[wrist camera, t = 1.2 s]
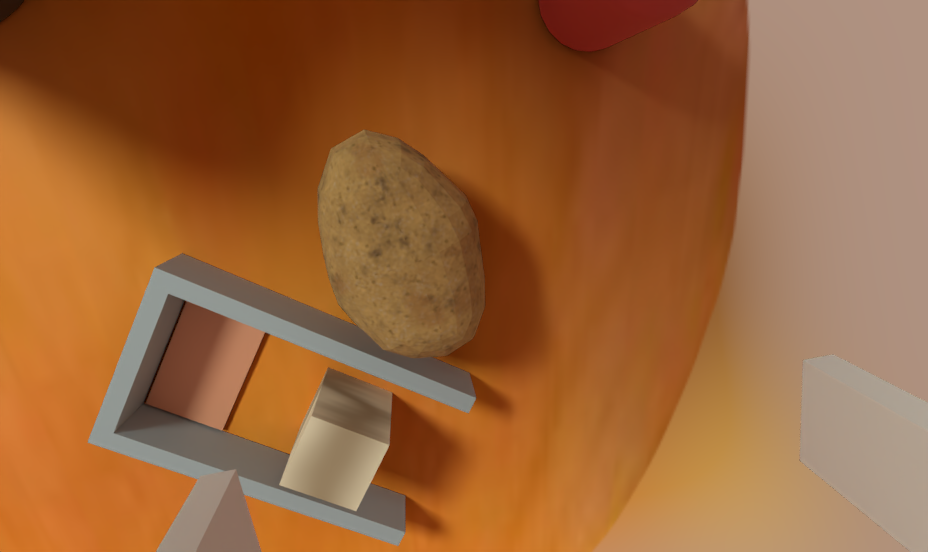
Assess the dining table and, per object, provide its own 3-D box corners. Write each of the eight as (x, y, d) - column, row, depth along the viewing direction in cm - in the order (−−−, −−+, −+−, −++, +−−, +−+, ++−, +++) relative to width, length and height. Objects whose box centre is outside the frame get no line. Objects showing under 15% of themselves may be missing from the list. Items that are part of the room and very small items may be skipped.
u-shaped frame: (120, 411, 37) (87, 442, 33) (182, 253, 35) (154, 267, 31) (398, 508, 41) (398, 545, 38) (469, 372, 39) (476, 398, 35)
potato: (431, 107, 34) (438, 97, 27) (502, 300, 38) (526, 340, 31) (290, 161, 34) (256, 167, 27) (375, 349, 38) (367, 402, 30)
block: (301, 425, 39) (279, 485, 32) (328, 367, 38) (311, 415, 31) (364, 448, 40) (356, 511, 33) (392, 392, 39) (389, 445, 32)
